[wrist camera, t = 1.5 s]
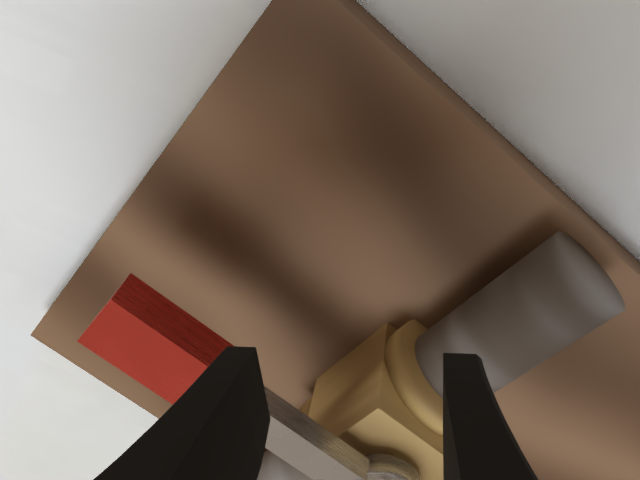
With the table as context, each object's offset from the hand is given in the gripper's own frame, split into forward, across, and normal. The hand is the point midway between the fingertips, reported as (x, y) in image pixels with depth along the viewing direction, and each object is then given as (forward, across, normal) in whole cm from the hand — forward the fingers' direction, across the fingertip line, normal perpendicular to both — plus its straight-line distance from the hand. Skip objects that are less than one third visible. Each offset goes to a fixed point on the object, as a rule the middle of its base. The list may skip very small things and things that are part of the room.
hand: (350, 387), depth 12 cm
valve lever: (+4, +3, +4) cm, 6 cm away
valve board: (+9, 0, +8) cm, 12 cm away
